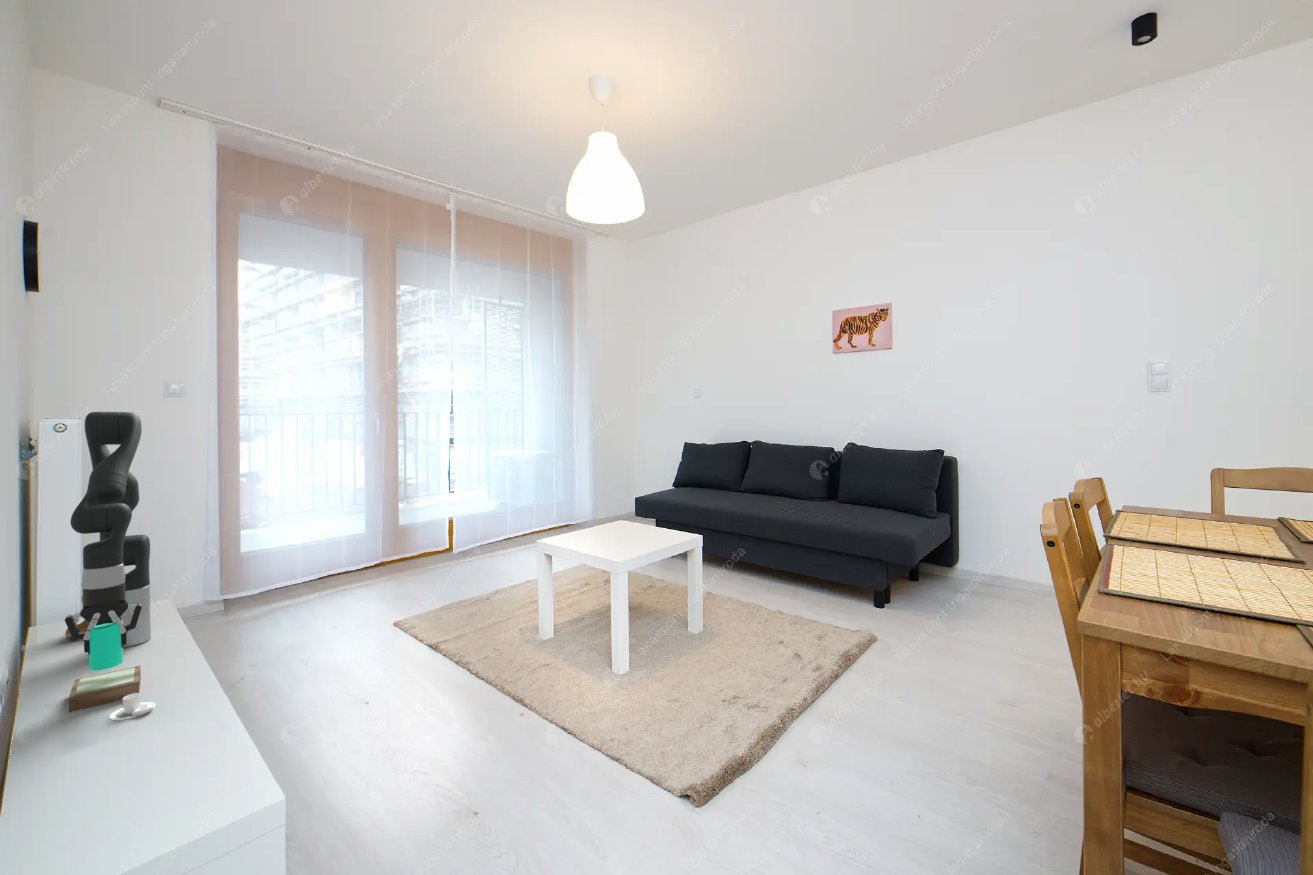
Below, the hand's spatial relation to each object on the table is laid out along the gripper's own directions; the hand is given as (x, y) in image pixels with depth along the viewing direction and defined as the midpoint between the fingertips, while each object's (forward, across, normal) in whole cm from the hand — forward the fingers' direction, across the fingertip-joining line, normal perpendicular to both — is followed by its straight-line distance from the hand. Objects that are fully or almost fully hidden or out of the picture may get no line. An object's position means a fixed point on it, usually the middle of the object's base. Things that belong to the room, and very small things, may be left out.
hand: (105, 649), depth 136 cm
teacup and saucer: (+12, -4, +18) cm, 22 cm away
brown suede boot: (+12, +5, -59) cm, 60 cm away
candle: (+4, 0, 0) cm, 4 cm away
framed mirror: (+11, 0, 0) cm, 11 cm away
